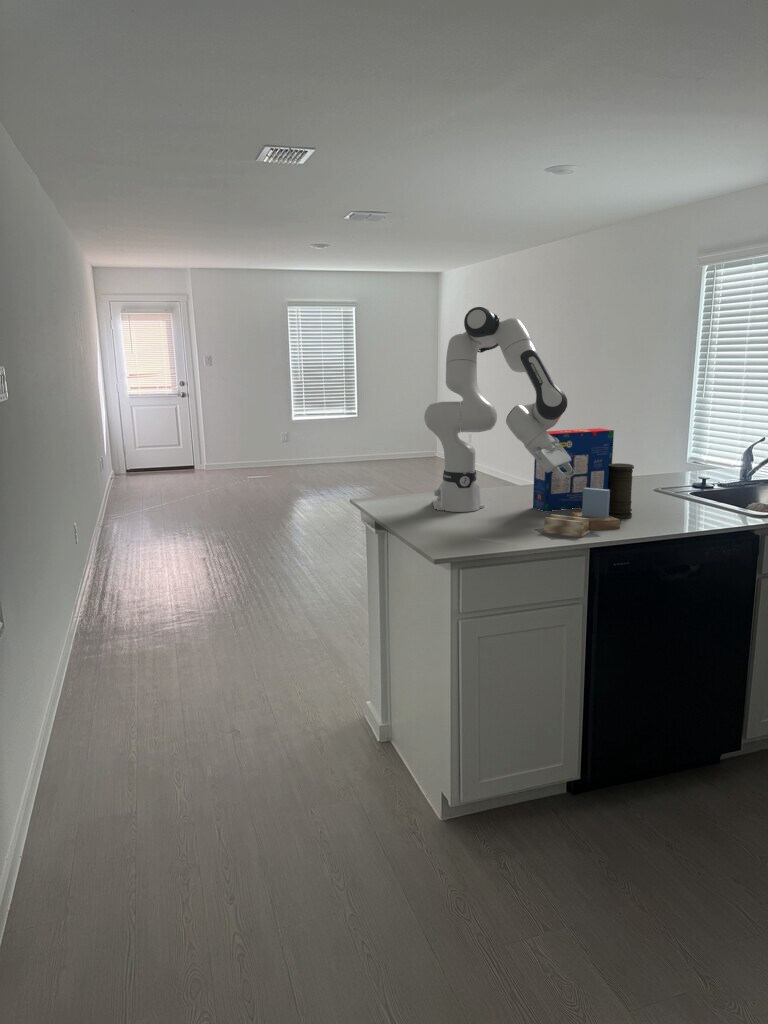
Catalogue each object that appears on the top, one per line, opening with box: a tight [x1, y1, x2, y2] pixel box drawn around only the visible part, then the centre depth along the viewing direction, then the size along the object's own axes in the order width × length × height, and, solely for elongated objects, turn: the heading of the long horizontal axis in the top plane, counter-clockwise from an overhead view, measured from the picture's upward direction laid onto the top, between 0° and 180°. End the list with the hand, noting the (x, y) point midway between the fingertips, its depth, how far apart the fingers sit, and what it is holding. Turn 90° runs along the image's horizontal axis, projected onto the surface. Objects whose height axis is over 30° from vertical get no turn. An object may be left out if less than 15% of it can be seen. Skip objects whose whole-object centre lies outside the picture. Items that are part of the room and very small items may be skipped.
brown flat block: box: [570, 511, 621, 531], centre depth 232 cm, size 14×10×3 cm
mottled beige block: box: [542, 513, 591, 538], centre depth 221 cm, size 13×7×5 cm, turn 57°
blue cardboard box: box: [532, 427, 615, 512], centre depth 258 cm, size 28×8×28 cm, turn 111°
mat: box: [533, 527, 600, 541], centre depth 221 cm, size 14×16×1 cm
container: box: [608, 462, 635, 520], centre depth 242 cm, size 9×9×18 cm
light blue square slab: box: [581, 488, 610, 518], centre depth 230 cm, size 8×2×9 cm, turn 57°
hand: (569, 476), depth 235 cm, fingers open, 8 cm apart
